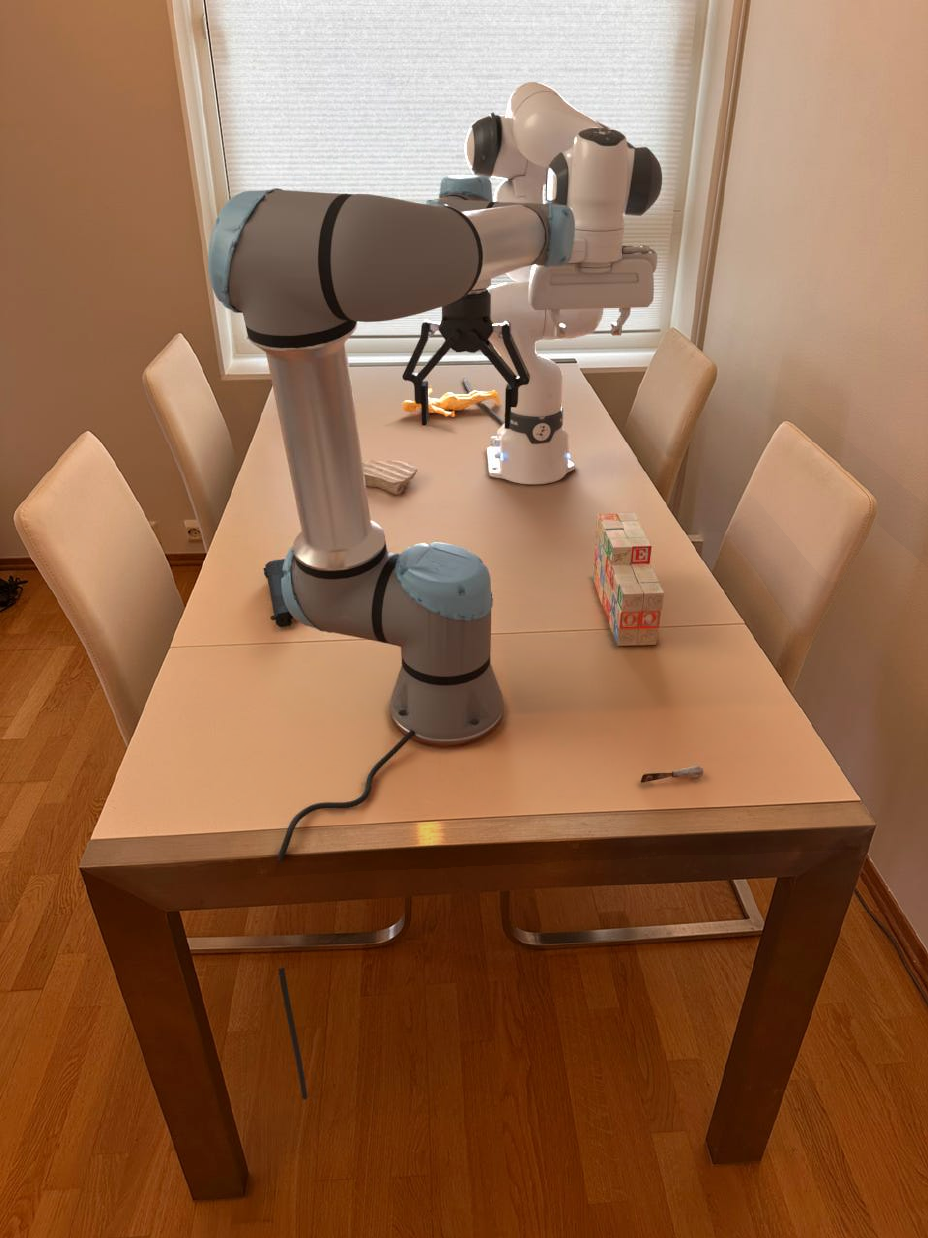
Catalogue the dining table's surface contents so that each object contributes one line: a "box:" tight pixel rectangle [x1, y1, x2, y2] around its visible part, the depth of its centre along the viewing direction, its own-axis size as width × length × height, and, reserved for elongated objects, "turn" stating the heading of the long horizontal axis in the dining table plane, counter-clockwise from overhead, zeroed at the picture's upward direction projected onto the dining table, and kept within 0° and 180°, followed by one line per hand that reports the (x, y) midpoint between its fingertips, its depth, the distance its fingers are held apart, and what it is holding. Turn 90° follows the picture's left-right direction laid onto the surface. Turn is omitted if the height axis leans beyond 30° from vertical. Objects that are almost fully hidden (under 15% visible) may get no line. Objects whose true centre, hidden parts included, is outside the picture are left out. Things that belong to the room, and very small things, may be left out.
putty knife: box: [640, 765, 705, 784], centre depth 109 cm, size 1×8×2 cm, turn 103°
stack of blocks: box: [592, 512, 665, 647], centre depth 140 cm, size 21×6×12 cm, turn 3°
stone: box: [362, 460, 418, 496], centre depth 187 cm, size 13×12×3 cm
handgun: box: [263, 558, 298, 628], centre depth 146 cm, size 3×18×12 cm
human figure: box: [402, 385, 500, 418], centre depth 225 cm, size 20×20×4 cm
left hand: (466, 424), depth 146 cm, fingers open, 13 cm apart
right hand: (587, 335), depth 148 cm, fingers open, 8 cm apart
